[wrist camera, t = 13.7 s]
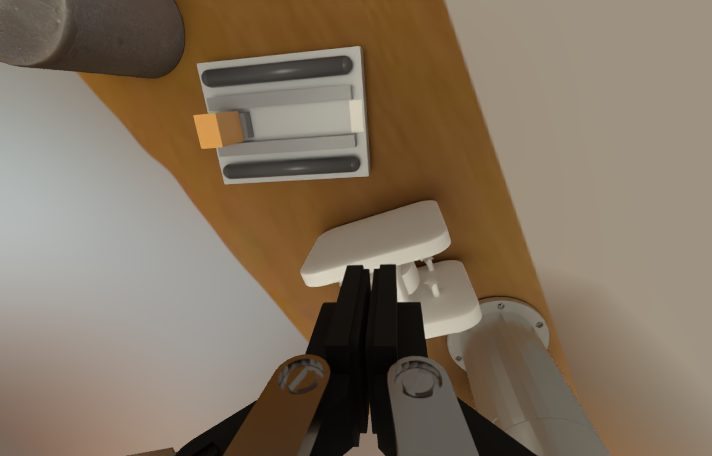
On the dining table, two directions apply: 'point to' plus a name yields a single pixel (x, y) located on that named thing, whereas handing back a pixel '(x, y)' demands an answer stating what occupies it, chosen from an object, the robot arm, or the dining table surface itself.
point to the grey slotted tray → (293, 115)
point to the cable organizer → (402, 263)
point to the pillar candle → (93, 36)
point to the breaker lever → (223, 128)
